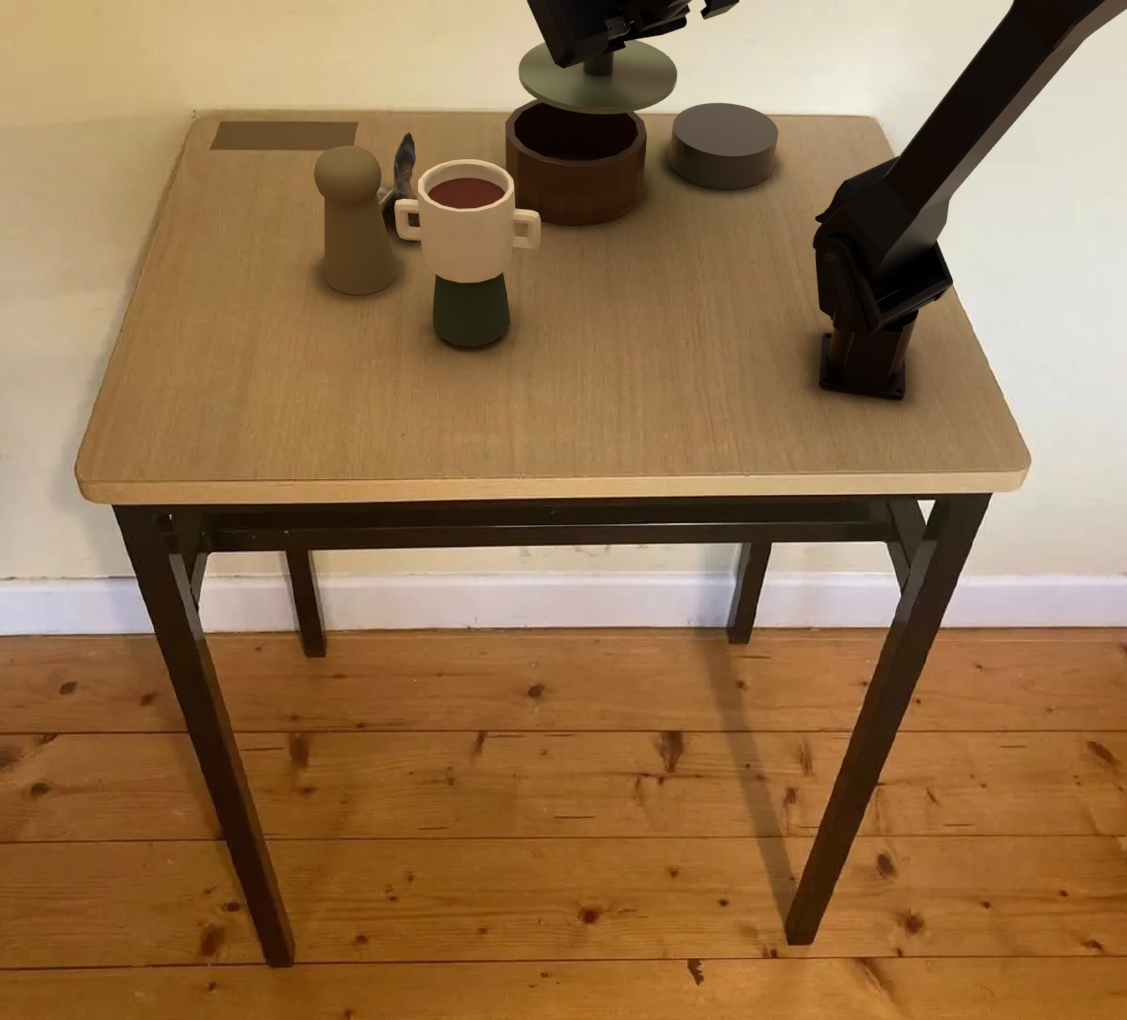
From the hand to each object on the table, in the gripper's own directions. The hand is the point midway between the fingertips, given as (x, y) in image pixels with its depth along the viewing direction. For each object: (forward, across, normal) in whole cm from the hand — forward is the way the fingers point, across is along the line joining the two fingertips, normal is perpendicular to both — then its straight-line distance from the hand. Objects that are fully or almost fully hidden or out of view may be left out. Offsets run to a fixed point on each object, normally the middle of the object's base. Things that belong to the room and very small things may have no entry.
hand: (589, 43), depth 96 cm
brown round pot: (+8, +2, +10) cm, 13 cm away
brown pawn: (+9, +25, +10) cm, 28 cm away
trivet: (+5, -13, +13) cm, 19 cm away
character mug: (+1, +22, +18) cm, 28 cm away
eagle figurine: (+12, +17, +6) cm, 22 cm away
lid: (+1, 0, +3) cm, 3 cm away
